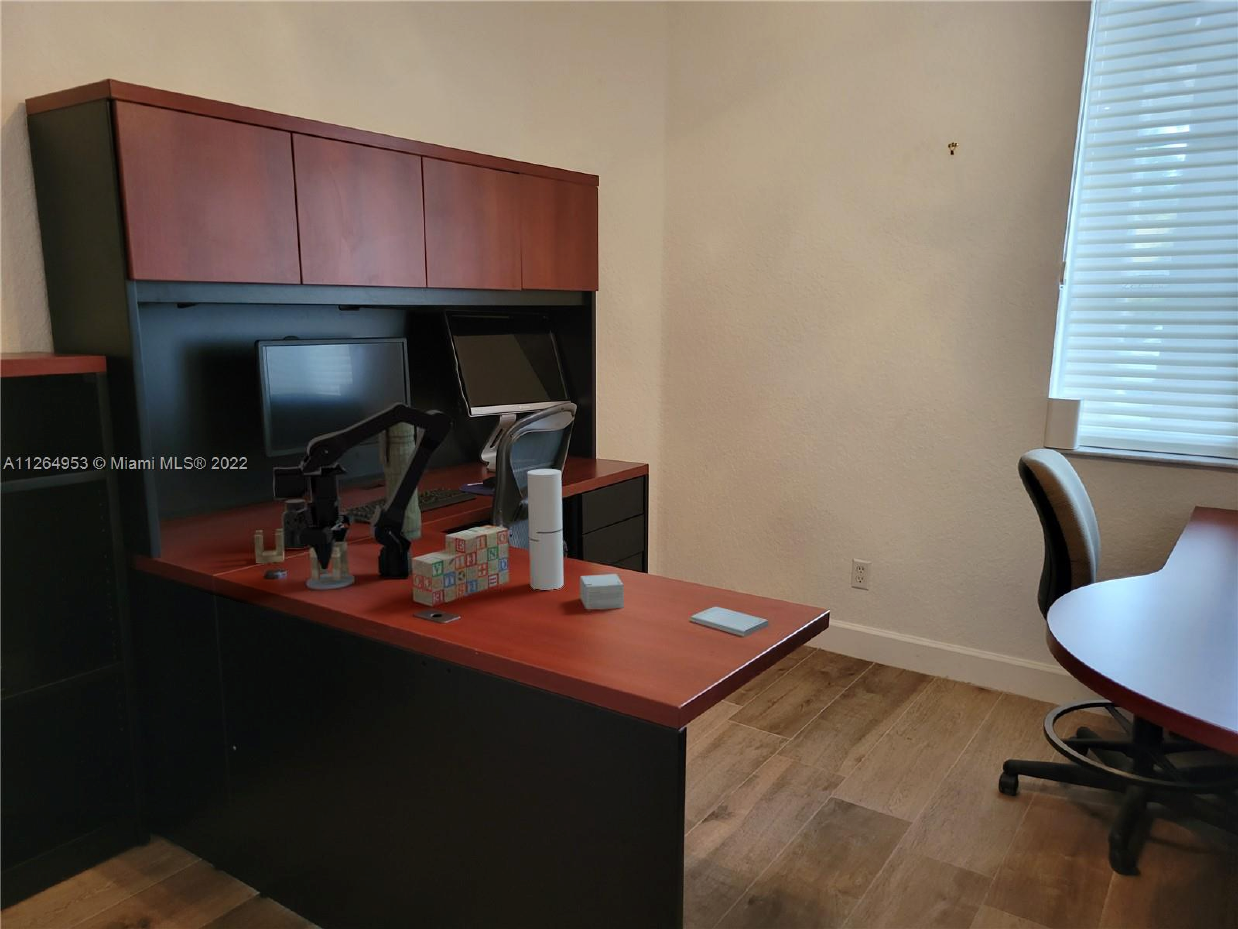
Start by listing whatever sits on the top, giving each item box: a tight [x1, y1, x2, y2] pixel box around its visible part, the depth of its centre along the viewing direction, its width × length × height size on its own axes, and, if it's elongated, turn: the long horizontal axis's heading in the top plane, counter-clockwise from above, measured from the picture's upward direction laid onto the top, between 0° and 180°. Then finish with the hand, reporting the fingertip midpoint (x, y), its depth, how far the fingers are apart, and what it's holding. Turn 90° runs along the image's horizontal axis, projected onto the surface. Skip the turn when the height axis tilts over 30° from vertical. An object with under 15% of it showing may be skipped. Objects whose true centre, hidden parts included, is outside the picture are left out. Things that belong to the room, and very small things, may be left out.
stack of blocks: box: [411, 524, 510, 607], centre depth 187 cm, size 21×6×12 cm, turn 141°
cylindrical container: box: [527, 468, 564, 591], centre depth 190 cm, size 7×7×25 cm
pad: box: [306, 573, 355, 591], centre depth 195 cm, size 10×10×1 cm
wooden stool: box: [309, 541, 349, 580], centre depth 194 cm, size 6×6×7 cm
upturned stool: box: [253, 528, 285, 565], centre depth 213 cm, size 6×6×7 cm
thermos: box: [377, 404, 422, 542], centre depth 231 cm, size 9×12×35 cm
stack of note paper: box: [579, 573, 625, 610], centre depth 180 cm, size 8×8×5 cm
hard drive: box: [690, 606, 770, 637], centre depth 168 cm, size 2×8×12 cm
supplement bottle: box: [281, 498, 311, 549], centre depth 224 cm, size 7×7×12 cm
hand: (329, 565), depth 194 cm, fingers closed on wooden stool, 5 cm apart
